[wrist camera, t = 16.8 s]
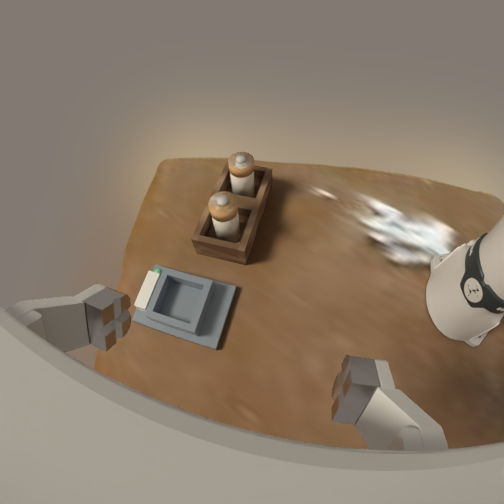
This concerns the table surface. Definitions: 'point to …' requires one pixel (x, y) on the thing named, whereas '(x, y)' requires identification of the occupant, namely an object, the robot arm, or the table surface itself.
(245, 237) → the rack
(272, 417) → the table surface
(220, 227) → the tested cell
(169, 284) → the checker
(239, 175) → the cell
